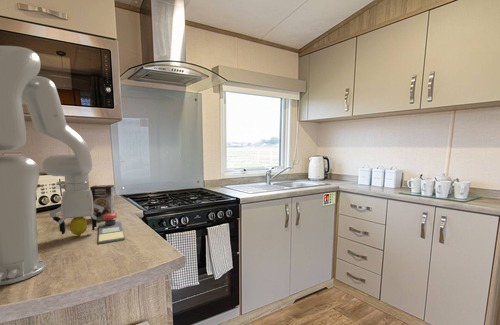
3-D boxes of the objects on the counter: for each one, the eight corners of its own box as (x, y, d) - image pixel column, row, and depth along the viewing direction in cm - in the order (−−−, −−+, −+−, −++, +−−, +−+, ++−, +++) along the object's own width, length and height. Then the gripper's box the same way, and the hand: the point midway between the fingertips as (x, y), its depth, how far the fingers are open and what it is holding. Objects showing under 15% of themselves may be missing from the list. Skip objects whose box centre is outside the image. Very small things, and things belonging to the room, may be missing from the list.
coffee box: (90, 221, 117) (89, 187, 117) (94, 217, 124) (93, 185, 123) (111, 219, 120) (110, 186, 119) (115, 216, 126) (114, 184, 125)
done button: (116, 218, 109) (116, 215, 108) (103, 220, 106) (103, 216, 106) (116, 216, 113) (116, 212, 113) (103, 217, 110) (103, 214, 110)
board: (124, 239, 92) (124, 233, 92) (98, 244, 88) (97, 237, 88) (120, 222, 115) (120, 217, 115) (99, 225, 111) (99, 220, 110)
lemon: (78, 238, 94) (78, 217, 93) (66, 237, 95) (65, 217, 94) (91, 234, 99) (90, 214, 99) (79, 233, 100) (78, 213, 100)
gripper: (46, 190, 88) (48, 237, 89) (103, 186, 97) (104, 230, 98) (50, 187, 95) (52, 232, 96) (103, 184, 104) (104, 225, 104)
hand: (78, 231), depth 97 cm, fingers open, 9 cm apart
